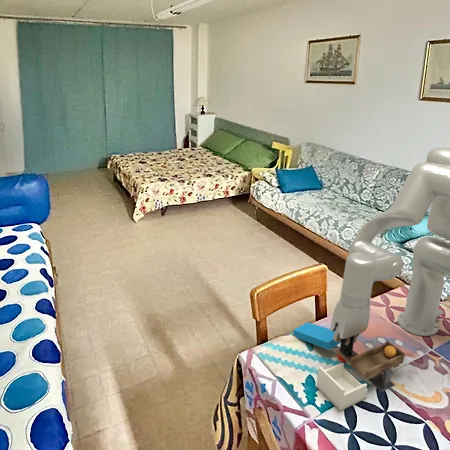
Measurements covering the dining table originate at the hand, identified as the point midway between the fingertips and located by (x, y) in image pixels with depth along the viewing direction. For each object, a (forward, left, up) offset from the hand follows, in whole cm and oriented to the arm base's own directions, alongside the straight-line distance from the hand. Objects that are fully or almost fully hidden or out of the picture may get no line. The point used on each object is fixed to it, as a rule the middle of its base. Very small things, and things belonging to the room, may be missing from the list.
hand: (345, 352), depth 113 cm
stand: (-6, +6, -6) cm, 10 cm away
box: (+7, +6, -6) cm, 11 cm away
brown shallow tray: (-6, +3, -2) cm, 7 cm away
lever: (-1, -11, -6) cm, 12 cm away
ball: (-10, +6, +1) cm, 12 cm away
